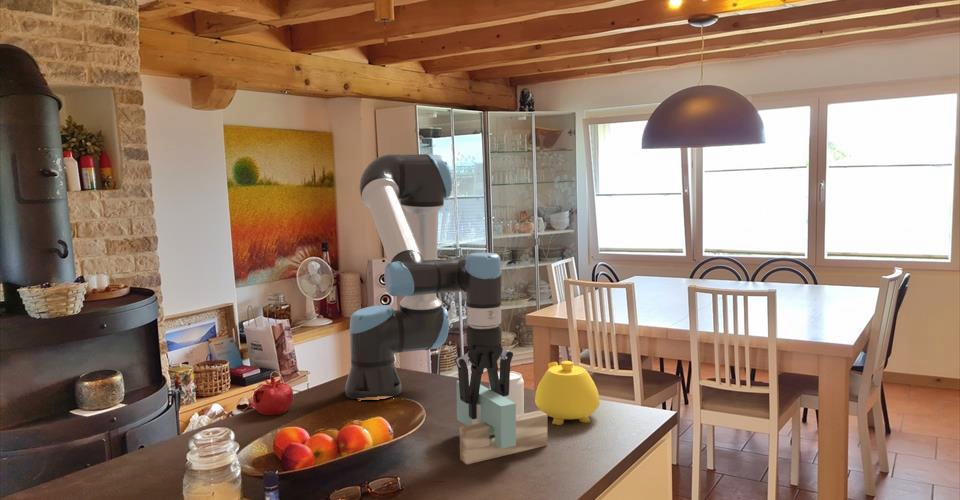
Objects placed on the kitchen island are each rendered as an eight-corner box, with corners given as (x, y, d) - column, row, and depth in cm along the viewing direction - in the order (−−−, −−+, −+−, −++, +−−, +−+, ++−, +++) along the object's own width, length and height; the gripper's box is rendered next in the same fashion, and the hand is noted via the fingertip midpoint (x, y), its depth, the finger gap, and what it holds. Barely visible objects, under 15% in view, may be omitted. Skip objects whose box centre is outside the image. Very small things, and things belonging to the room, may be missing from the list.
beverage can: (521, 431, 160) (521, 381, 159) (486, 429, 162) (486, 379, 161) (526, 419, 168) (525, 371, 167) (493, 417, 170) (492, 369, 168)
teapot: (523, 403, 180) (523, 351, 179) (580, 398, 183) (581, 347, 182) (545, 430, 161) (545, 373, 159) (609, 425, 164) (609, 368, 162)
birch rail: (460, 459, 145) (459, 427, 144) (539, 440, 155) (539, 410, 154) (466, 464, 142) (466, 431, 142) (547, 445, 152) (547, 414, 151)
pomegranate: (296, 404, 181) (296, 369, 181) (290, 417, 172) (290, 380, 171) (257, 405, 180) (256, 370, 179) (249, 418, 170) (248, 381, 170)
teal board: (456, 419, 159) (456, 381, 158) (470, 416, 161) (469, 378, 160) (501, 448, 142) (501, 406, 141) (515, 445, 144) (515, 403, 143)
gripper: (457, 333, 142) (459, 443, 144) (526, 323, 150) (526, 428, 152) (441, 326, 148) (443, 432, 151) (507, 317, 156) (508, 418, 159)
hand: (485, 430), depth 151 cm, fingers closed on teal board, 3 cm apart
